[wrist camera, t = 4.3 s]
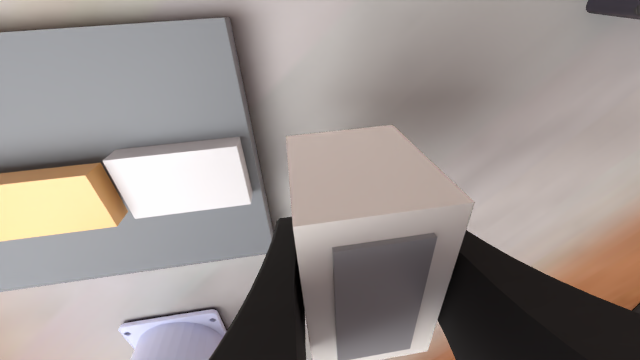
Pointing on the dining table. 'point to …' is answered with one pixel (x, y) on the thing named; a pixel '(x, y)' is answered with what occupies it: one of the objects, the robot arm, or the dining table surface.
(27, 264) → the rail board
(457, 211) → the block
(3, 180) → the block
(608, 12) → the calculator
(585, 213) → the dining table surface
